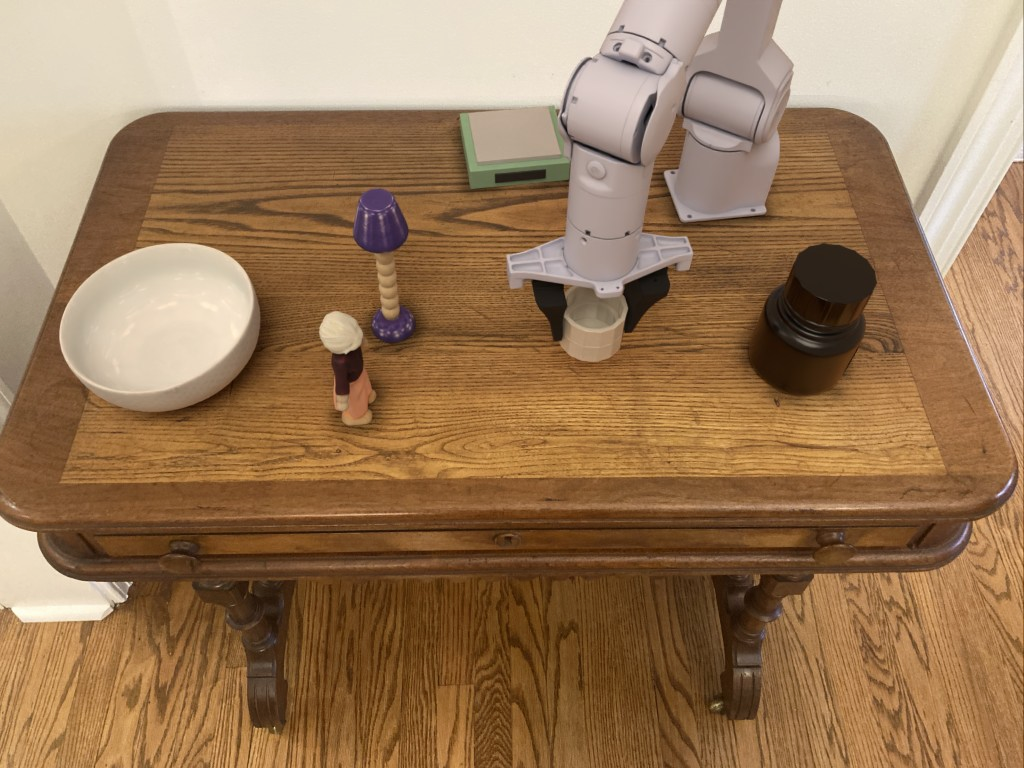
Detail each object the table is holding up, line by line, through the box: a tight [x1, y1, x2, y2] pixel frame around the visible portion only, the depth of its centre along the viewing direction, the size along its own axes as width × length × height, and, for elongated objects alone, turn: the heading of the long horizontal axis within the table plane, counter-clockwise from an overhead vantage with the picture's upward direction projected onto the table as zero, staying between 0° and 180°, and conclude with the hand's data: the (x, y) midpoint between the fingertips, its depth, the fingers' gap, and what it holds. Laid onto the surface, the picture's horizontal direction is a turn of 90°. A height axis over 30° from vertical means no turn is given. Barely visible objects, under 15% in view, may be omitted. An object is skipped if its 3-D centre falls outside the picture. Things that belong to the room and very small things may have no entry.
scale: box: [459, 105, 571, 190], centre depth 96 cm, size 11×10×3 cm
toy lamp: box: [352, 187, 417, 344], centre depth 76 cm, size 5×5×17 cm
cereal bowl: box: [58, 242, 262, 413], centre depth 77 cm, size 17×17×7 cm
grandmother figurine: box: [318, 310, 377, 427], centre depth 72 cm, size 8×4×13 cm, turn 5°
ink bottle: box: [748, 242, 878, 397], centre depth 76 cm, size 10×9×12 cm
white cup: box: [558, 285, 628, 363], centre depth 74 cm, size 6×6×5 cm
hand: (590, 328), depth 74 cm, fingers closed on white cup, 5 cm apart
